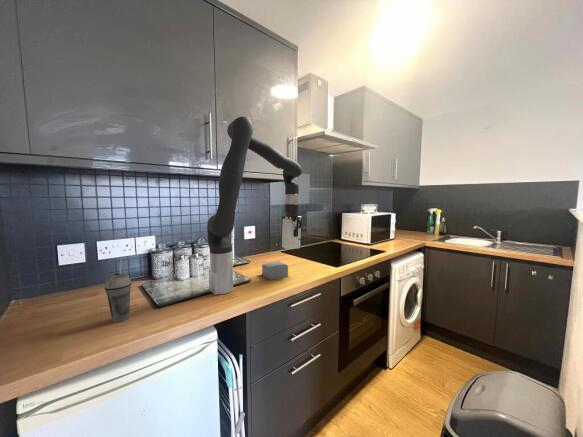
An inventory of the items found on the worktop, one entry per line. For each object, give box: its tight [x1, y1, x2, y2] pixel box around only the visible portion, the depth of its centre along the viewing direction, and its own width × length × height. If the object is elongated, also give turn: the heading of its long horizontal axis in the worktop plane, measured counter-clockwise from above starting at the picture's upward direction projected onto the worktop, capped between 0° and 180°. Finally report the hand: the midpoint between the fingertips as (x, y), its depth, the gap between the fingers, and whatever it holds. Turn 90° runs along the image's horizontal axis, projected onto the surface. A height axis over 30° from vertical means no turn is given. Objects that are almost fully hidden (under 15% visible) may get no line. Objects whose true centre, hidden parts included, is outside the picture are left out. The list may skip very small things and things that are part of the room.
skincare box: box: [281, 219, 302, 250], centre depth 120 cm, size 8×6×15 cm
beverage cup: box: [104, 259, 132, 323], centre depth 77 cm, size 7×7×20 cm
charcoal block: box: [261, 260, 289, 281], centre depth 121 cm, size 10×10×6 cm
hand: (291, 235), depth 120 cm, fingers closed on skincare box, 6 cm apart
